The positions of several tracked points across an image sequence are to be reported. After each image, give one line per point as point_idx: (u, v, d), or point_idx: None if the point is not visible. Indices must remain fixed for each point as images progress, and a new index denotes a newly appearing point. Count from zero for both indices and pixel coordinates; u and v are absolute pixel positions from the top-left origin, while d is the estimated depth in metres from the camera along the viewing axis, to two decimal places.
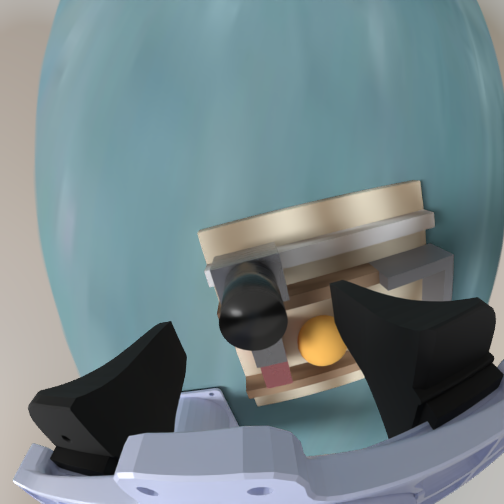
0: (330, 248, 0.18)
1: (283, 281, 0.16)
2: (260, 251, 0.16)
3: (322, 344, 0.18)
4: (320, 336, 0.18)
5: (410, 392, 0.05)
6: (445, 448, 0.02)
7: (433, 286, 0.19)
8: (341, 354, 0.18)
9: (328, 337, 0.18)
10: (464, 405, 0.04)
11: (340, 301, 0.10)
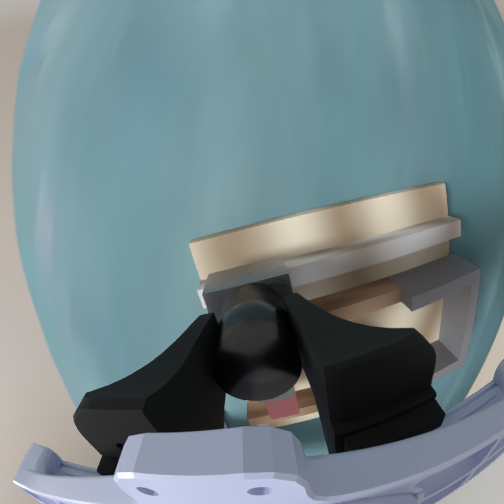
0: (347, 262, 0.15)
1: None
2: (264, 269, 0.13)
3: None
4: None
5: (330, 422, 0.05)
6: (445, 448, 0.02)
7: (456, 302, 0.16)
8: None
9: None
10: None
11: (289, 315, 0.10)
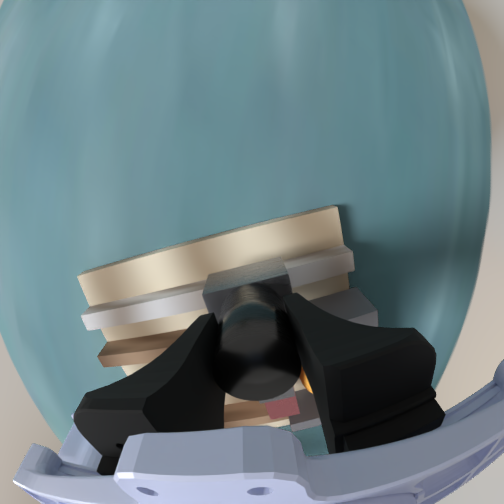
0: (197, 300, 0.16)
1: None
2: (264, 269, 0.13)
3: None
4: None
5: (330, 422, 0.05)
6: (445, 448, 0.02)
7: None
8: None
9: None
10: None
11: (289, 315, 0.10)
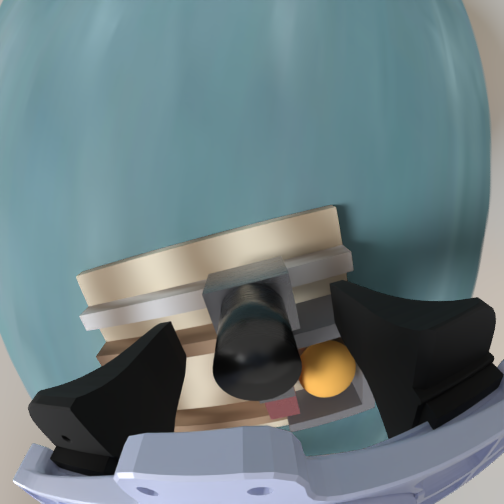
0: (195, 301, 0.15)
1: (293, 307, 0.13)
2: (264, 269, 0.13)
3: (303, 353, 0.18)
4: (307, 348, 0.17)
5: (410, 392, 0.05)
6: (445, 448, 0.02)
7: None
8: None
9: (302, 354, 0.17)
10: (464, 405, 0.04)
11: (340, 301, 0.10)
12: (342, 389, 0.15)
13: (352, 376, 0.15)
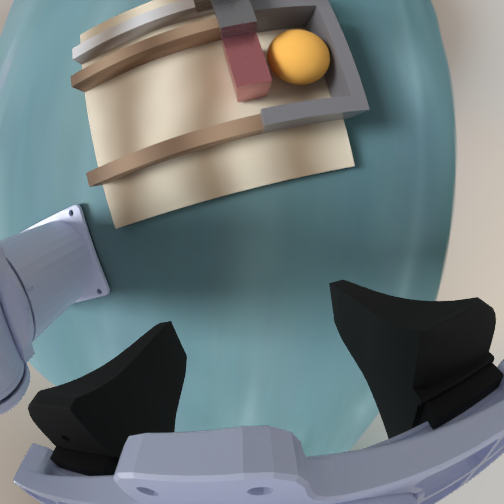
0: (176, 7, 0.13)
1: None
2: None
3: None
4: None
5: (410, 392, 0.05)
6: (445, 448, 0.02)
7: None
8: (271, 66, 0.14)
9: None
10: (464, 405, 0.04)
11: (340, 301, 0.10)
12: (317, 52, 0.12)
13: (325, 47, 0.13)
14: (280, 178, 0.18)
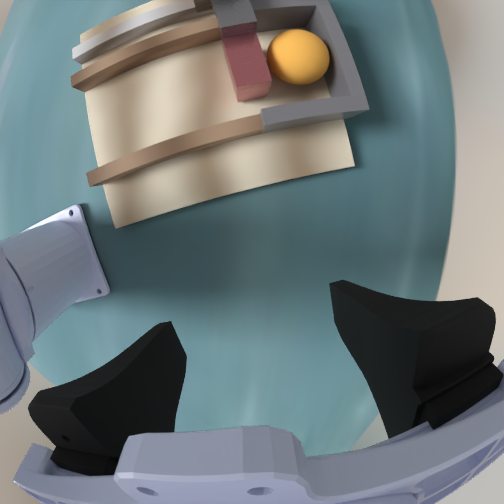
0: (176, 7, 0.13)
1: None
2: None
3: None
4: None
5: (410, 392, 0.05)
6: (445, 448, 0.02)
7: (320, 38, 0.14)
8: (270, 66, 0.14)
9: None
10: (464, 405, 0.04)
11: (340, 301, 0.10)
12: (316, 52, 0.12)
13: (325, 47, 0.13)
14: (280, 178, 0.18)
